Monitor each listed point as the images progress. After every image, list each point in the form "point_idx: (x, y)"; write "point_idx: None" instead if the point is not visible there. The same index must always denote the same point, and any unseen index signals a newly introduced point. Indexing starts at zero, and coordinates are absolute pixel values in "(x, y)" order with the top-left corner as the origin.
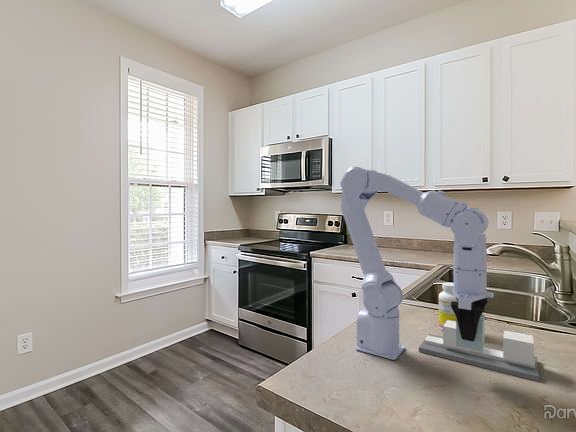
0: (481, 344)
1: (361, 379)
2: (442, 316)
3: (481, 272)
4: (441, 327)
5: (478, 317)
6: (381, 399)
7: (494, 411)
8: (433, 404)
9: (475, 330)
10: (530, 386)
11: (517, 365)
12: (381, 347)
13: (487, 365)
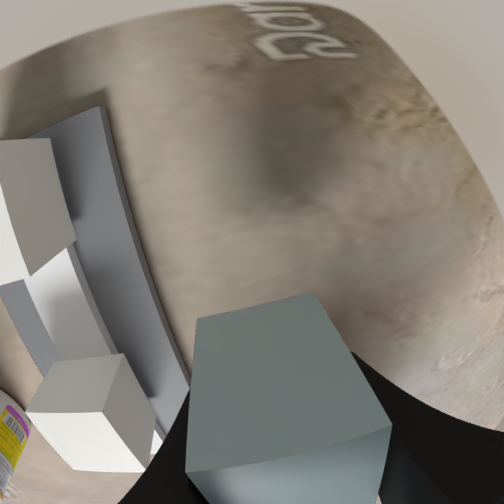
0: (326, 317)
1: (438, 408)
2: (17, 458)
3: None
4: (28, 434)
5: (492, 432)
6: (483, 349)
7: (418, 167)
8: (464, 283)
9: (395, 387)
10: (167, 115)
11: (63, 190)
12: None
13: (144, 270)
